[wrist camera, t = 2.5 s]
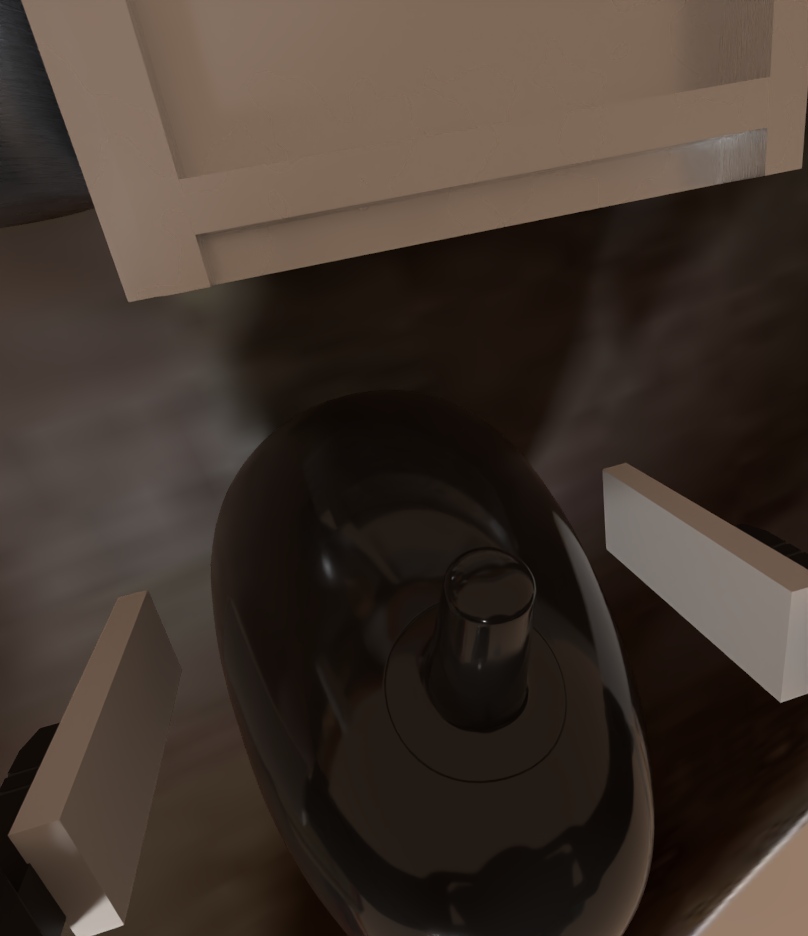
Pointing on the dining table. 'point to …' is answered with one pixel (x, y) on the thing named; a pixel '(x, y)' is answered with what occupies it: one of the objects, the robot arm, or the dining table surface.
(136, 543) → the dining table surface
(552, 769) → the pump dispenser
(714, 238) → the dining table surface
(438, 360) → the dining table surface
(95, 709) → the robot arm
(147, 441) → the dining table surface
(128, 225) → the white tray
